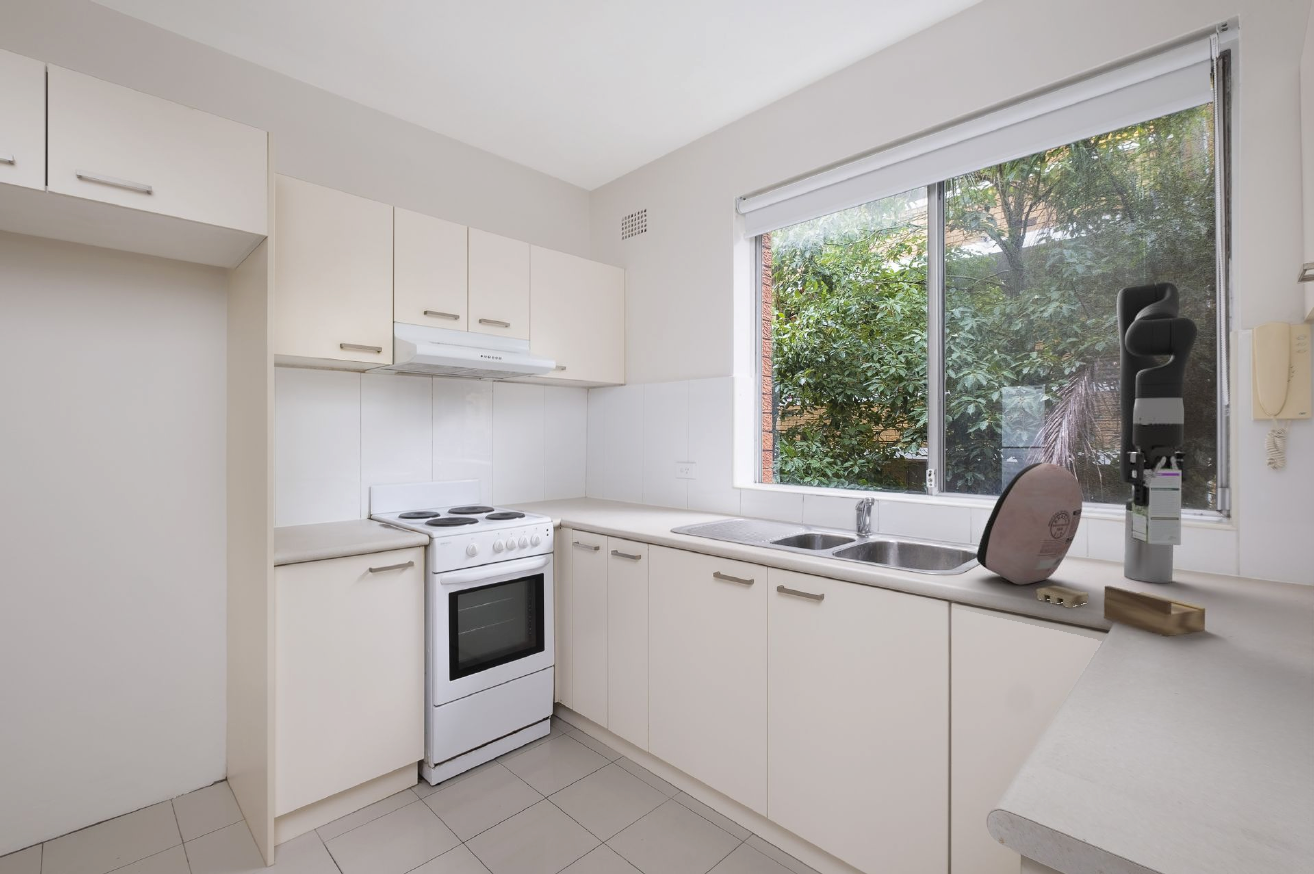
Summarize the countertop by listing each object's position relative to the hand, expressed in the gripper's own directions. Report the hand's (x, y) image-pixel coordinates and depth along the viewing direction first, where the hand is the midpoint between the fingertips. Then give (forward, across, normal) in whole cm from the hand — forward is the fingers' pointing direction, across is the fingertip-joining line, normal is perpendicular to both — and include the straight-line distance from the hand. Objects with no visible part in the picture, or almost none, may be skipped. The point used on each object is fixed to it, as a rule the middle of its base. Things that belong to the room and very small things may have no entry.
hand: (1155, 505), depth 115 cm
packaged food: (+24, -5, -31) cm, 39 cm away
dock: (+23, 0, 0) cm, 23 cm away
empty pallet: (+23, +3, -16) cm, 28 cm away
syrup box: (+7, 0, 0) cm, 7 cm away
